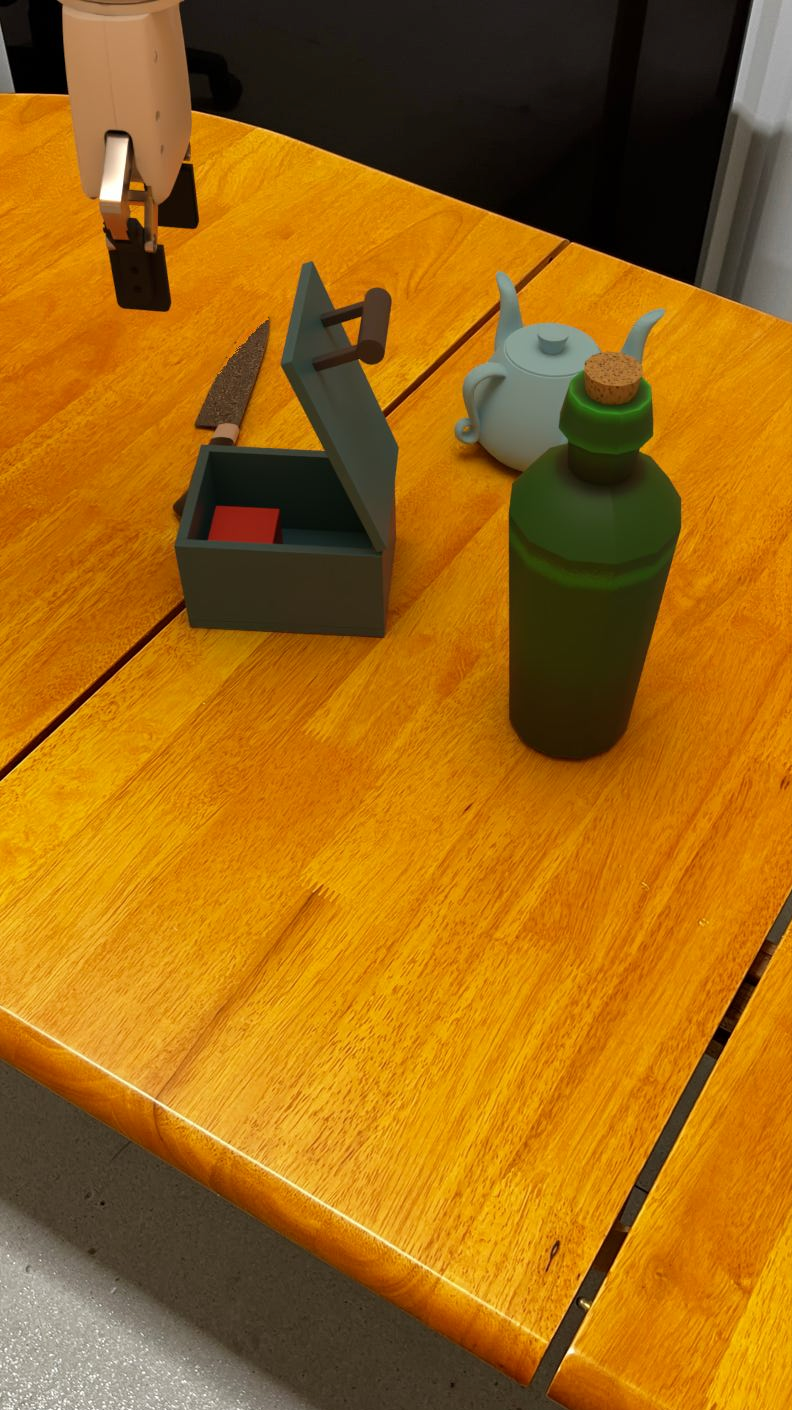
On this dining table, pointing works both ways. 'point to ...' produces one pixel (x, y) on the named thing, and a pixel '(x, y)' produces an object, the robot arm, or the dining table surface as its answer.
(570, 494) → the bottle
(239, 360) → the knife
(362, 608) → the cool box
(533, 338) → the teapot
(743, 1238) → the dining table surface
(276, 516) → the red block
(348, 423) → the lid
